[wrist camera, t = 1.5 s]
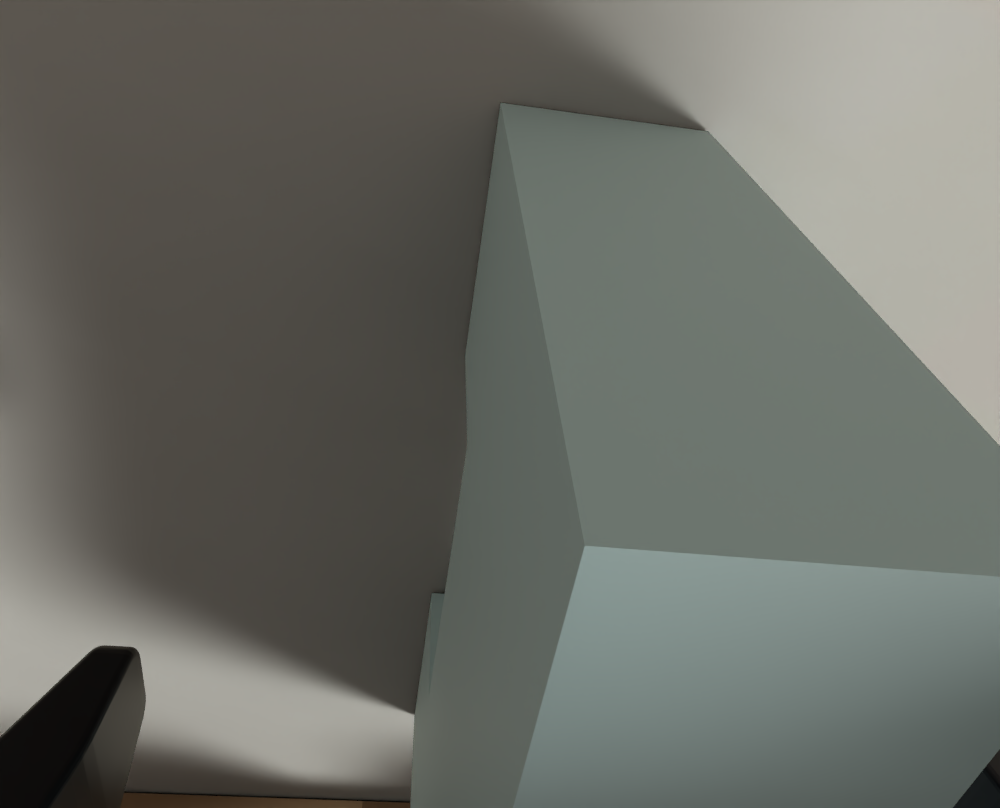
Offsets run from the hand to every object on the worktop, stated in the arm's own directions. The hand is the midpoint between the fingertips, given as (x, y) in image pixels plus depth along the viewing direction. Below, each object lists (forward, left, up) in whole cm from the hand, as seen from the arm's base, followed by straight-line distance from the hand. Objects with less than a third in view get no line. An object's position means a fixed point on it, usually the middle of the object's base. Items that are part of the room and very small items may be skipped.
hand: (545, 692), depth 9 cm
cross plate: (0, 0, -4) cm, 4 cm away
